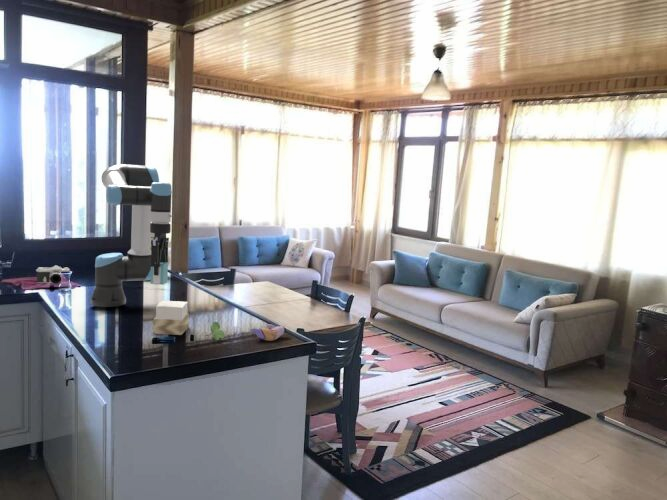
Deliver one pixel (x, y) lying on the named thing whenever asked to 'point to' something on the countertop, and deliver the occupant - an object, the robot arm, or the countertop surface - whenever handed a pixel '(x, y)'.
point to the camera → (50, 274)
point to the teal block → (163, 273)
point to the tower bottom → (170, 326)
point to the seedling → (214, 329)
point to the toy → (269, 332)
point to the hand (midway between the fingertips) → (159, 282)
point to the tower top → (171, 310)
